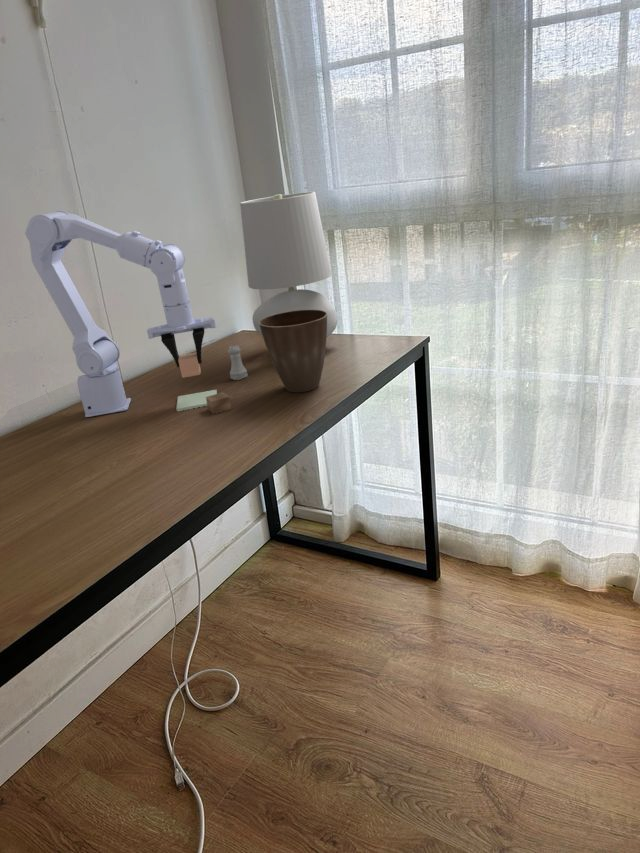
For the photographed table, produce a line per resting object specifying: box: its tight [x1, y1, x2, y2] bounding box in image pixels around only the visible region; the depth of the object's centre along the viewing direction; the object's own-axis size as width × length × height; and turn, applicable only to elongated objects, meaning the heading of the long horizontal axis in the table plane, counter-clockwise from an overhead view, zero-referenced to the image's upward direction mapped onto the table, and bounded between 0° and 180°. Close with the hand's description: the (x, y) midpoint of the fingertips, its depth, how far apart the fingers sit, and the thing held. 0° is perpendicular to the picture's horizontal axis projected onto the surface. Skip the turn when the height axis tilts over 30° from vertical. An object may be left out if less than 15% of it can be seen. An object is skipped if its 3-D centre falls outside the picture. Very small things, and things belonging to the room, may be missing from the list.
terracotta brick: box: [178, 352, 202, 379], centre depth 148 cm, size 4×4×4 cm
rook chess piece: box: [227, 344, 249, 381], centre depth 163 cm, size 4×4×8 cm
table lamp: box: [239, 191, 338, 338], centre depth 172 cm, size 23×22×40 cm
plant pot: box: [259, 310, 328, 393], centre depth 148 cm, size 15×15×16 cm
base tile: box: [175, 389, 218, 412], centre depth 151 cm, size 9×9×1 cm
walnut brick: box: [206, 392, 232, 414], centre depth 144 cm, size 4×4×3 cm
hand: (189, 364), depth 148 cm, fingers closed on terracotta brick, 4 cm apart
